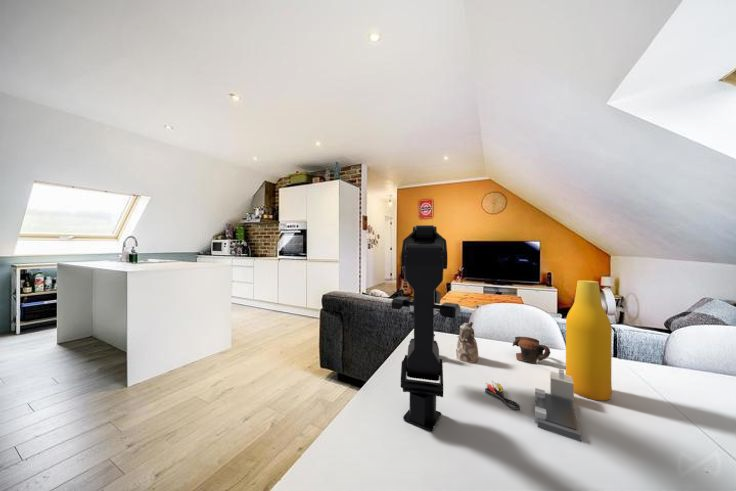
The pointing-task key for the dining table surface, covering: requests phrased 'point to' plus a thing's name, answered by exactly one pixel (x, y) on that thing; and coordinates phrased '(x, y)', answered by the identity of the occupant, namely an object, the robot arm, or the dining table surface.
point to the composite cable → (500, 395)
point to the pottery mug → (530, 349)
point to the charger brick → (561, 385)
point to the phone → (556, 415)
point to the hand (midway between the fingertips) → (423, 336)
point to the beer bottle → (589, 343)
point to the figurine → (467, 344)
